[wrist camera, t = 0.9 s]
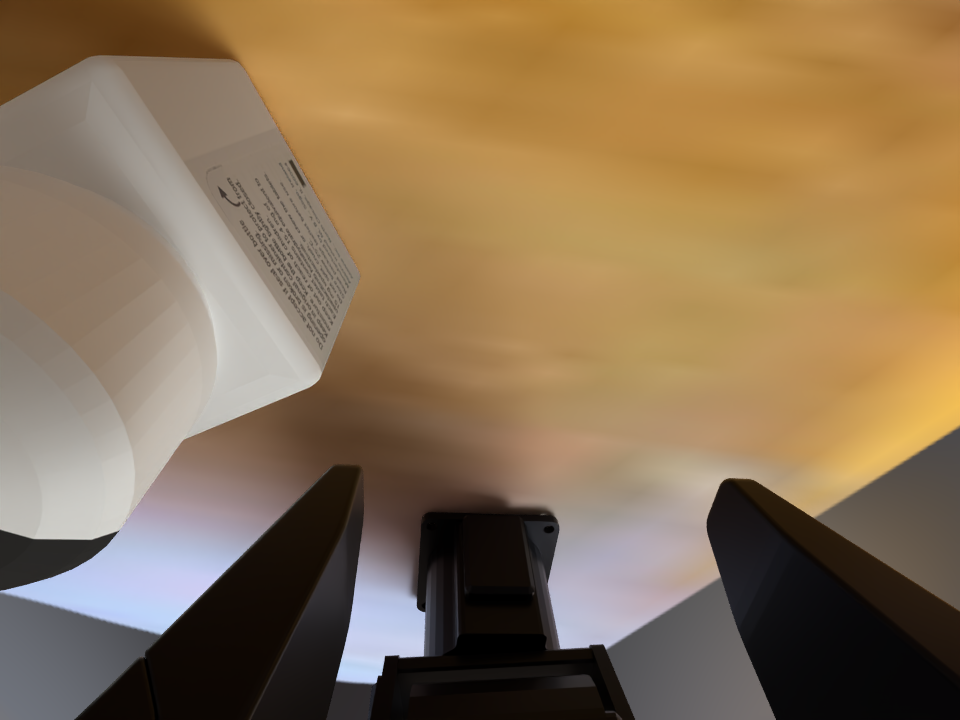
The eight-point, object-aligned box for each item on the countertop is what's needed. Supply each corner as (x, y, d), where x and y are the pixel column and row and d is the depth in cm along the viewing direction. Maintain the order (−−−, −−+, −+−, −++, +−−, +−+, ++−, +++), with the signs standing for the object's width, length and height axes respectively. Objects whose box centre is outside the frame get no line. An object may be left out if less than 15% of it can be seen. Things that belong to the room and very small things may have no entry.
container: (188, 355, 21) (-119, 701, 10) (34, 162, 17) (-742, 346, 6) (366, 277, 20) (258, 562, 8) (240, 54, 16) (-235, 28, 5)
